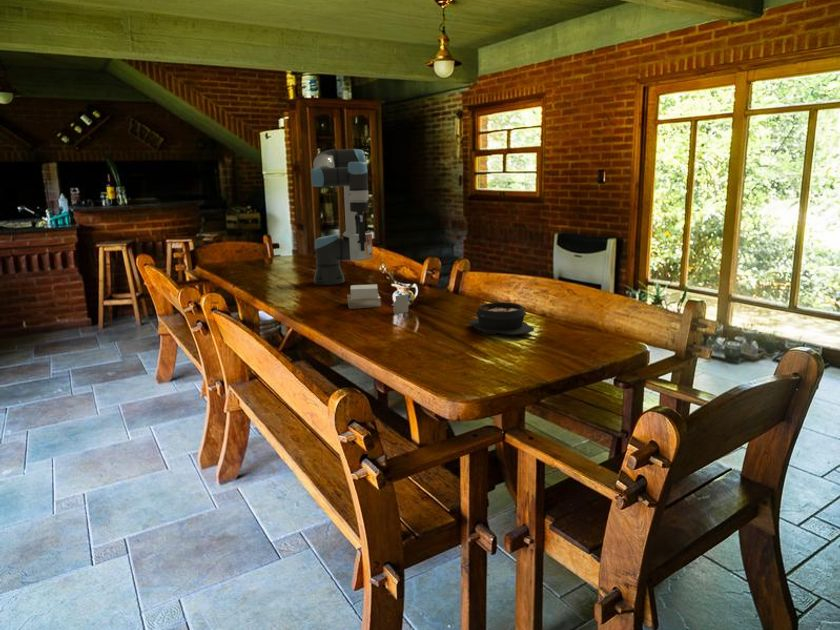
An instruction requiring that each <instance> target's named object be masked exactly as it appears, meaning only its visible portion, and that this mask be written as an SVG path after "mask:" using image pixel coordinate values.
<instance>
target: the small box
mask: <svg viewBox="0 0 840 630" xmlns="http://www.w3.org/2000/svg"><path fill="white" fill-rule="evenodd" d="M365 235H366V242H365V243H366V259H359V243H357V241H359V234H354V235H349V242H350V260H351V262H352V261H353V262H354V261H355V262H362V261H369V260H373V255H374V254H373V251H374V250H373V234H372V233H369V232H368V233H365Z"/></svg>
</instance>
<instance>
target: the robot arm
mask: <svg viewBox="0 0 840 630" xmlns="http://www.w3.org/2000/svg"><path fill="white" fill-rule="evenodd" d="M312 163H313V164H312V165H313V167H312V168H311V169H310V176H311V185H312V187H316V188H318V187H319V188H324V187H327V188H328V187H343V197H344V198H343V201H344V216H345V217H344V218H345V219H344V221H345V231H344V232H343V233H342V237H339V235H338V234H331V235H325V236H321V237H318V238H316V239H315V240H314V241H315V242H314V245H315V246H314V249H315V261H316V262H315V263H316V270H315V272H314V275H313V276H314V278H313V283H314V285H320V286H333V285H340V284H343V283H345V276H344V274H343V271H342V268H341V262H347V261H348V262H350V261H351V260H350V242H349V235H354V234H359V241H357V243H359V259H366V243H365V242H366V235H365V233H366V216H365V215H364V212H365V213H366V212H369V210H370V205H369V199H370V198H369V188H368V187H369V186H368V165H367V159H366V155H365V152H364V150H363V149H362V148H361V149H359V148H346V149H345V148H343V149H341V148H340V149H328V150H325V151H322V152H320V153H319V154H317V155H316V156H315V157H314V160H313V162H312ZM351 262H352V261H351Z"/></svg>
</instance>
